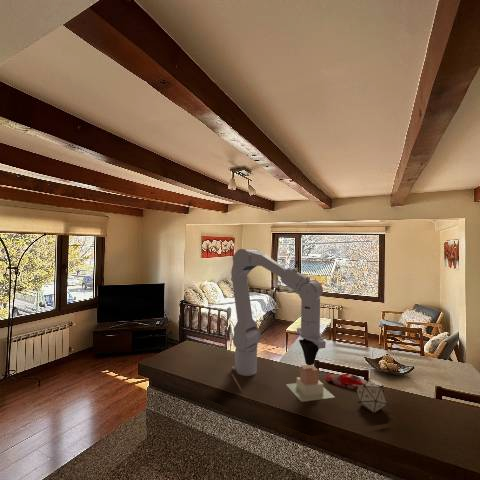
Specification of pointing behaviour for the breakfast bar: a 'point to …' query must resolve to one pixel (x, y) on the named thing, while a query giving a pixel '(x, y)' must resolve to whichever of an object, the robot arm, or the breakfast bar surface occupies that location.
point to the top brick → (309, 374)
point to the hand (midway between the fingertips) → (309, 364)
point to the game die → (371, 396)
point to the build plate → (303, 398)
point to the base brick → (309, 387)
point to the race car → (345, 380)
